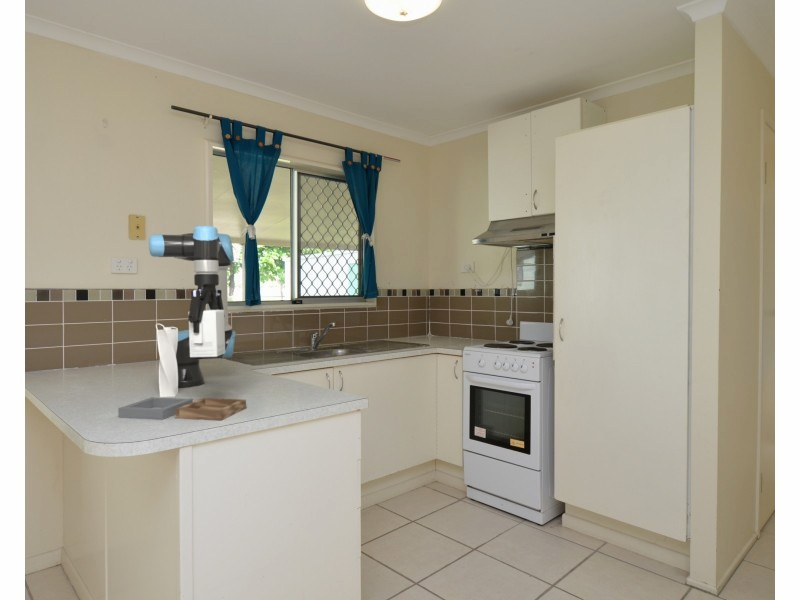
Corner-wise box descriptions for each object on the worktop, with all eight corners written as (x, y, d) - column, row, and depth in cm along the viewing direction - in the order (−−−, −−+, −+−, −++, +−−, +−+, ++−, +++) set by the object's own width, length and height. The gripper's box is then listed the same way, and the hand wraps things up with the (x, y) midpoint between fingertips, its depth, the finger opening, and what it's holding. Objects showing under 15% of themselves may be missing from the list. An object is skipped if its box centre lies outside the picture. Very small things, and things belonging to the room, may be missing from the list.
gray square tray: (151, 405, 179) (151, 397, 179) (192, 407, 176) (192, 398, 176) (118, 417, 164) (118, 408, 163) (162, 419, 160) (162, 410, 160)
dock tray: (203, 406, 178) (203, 397, 177) (246, 408, 174) (245, 399, 174) (175, 418, 162) (175, 409, 162) (221, 420, 159) (220, 411, 159)
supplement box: (226, 353, 172) (225, 309, 172) (217, 357, 163) (216, 310, 163) (199, 353, 172) (198, 309, 171) (188, 357, 163) (187, 311, 162)
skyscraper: (155, 398, 191) (153, 324, 190) (158, 394, 198) (157, 322, 198) (177, 396, 193) (176, 323, 192) (180, 392, 201) (179, 322, 200)
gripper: (215, 274, 178) (216, 337, 179) (174, 272, 157) (176, 345, 157) (234, 274, 177) (235, 337, 178) (196, 272, 155) (197, 345, 156)
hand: (207, 341), depth 167 cm, fingers closed on supplement box, 10 cm apart
